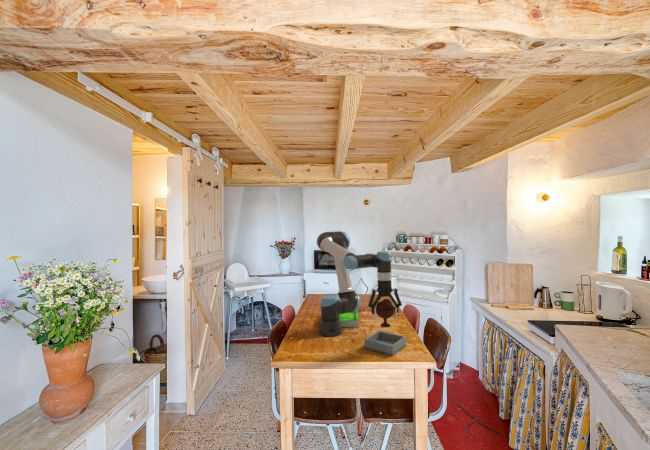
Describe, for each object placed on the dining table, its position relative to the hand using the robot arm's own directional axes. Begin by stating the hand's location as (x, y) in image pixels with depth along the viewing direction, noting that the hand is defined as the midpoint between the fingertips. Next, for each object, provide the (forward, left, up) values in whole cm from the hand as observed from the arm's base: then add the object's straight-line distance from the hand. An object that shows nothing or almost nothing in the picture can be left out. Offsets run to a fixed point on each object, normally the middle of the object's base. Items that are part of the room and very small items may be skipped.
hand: (385, 319), depth 172 cm
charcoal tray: (0, 0, -15) cm, 15 cm away
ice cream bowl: (0, 0, -4) cm, 4 cm away
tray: (-47, +23, -16) cm, 55 cm away
